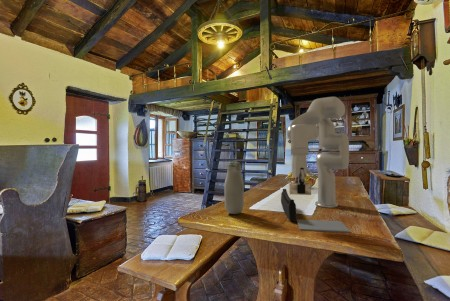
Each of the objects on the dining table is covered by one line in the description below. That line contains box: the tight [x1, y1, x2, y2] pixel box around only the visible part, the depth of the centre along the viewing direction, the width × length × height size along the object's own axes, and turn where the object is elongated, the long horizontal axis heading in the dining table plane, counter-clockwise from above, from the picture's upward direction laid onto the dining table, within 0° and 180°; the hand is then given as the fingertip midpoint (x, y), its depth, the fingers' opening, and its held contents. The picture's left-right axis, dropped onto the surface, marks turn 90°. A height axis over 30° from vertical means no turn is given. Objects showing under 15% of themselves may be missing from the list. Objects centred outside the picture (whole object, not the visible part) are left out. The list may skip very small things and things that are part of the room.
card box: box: [288, 182, 312, 196], centre depth 106 cm, size 9×5×5 cm, turn 78°
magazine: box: [280, 188, 297, 222], centre depth 123 cm, size 17×3×30 cm
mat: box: [295, 219, 351, 234], centre depth 105 cm, size 13×20×1 cm, turn 80°
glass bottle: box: [223, 160, 245, 215], centre depth 125 cm, size 10×10×28 cm
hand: (299, 191), depth 106 cm, fingers closed on card box, 5 cm apart
